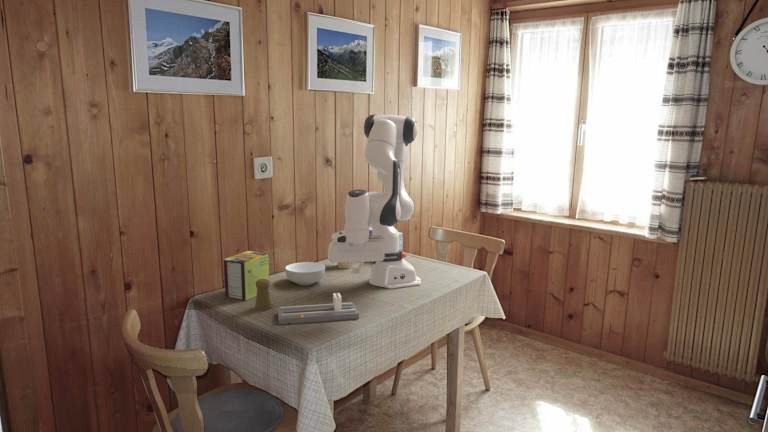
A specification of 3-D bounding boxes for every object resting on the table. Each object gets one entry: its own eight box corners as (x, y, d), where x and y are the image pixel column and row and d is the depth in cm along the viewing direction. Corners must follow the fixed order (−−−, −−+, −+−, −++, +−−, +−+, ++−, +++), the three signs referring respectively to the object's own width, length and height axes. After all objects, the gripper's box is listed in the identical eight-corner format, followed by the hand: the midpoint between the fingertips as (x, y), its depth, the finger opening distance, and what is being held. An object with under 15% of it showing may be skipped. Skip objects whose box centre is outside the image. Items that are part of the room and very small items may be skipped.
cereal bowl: (332, 280, 236) (332, 264, 235) (311, 291, 221) (311, 274, 220) (299, 274, 243) (299, 259, 242) (277, 285, 228) (277, 269, 227)
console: (353, 307, 203) (353, 300, 202) (358, 318, 192) (359, 311, 192) (277, 313, 196) (277, 305, 196) (278, 324, 186) (278, 316, 185)
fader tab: (339, 305, 198) (339, 292, 197) (341, 310, 193) (341, 296, 192) (332, 306, 198) (332, 292, 197) (334, 311, 193) (334, 297, 192)
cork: (256, 305, 204) (255, 277, 202) (272, 304, 205) (271, 277, 203) (254, 310, 198) (253, 282, 196) (270, 310, 199) (269, 281, 197)
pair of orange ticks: (300, 306, 198) (300, 305, 198) (303, 317, 187) (303, 316, 187) (298, 306, 198) (298, 305, 198) (301, 317, 187) (301, 316, 187)
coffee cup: (338, 263, 262) (338, 239, 260) (357, 264, 261) (357, 240, 259) (334, 268, 253) (334, 243, 251) (353, 269, 252) (353, 244, 250)
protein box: (269, 289, 222) (269, 253, 219) (245, 301, 208) (244, 262, 205) (249, 286, 226) (248, 250, 224) (224, 297, 213) (222, 259, 210)
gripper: (383, 233, 197) (382, 270, 200) (327, 234, 193) (327, 272, 195) (387, 237, 191) (386, 274, 194) (329, 238, 187) (329, 277, 189)
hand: (356, 273), depth 194 cm, fingers closed
